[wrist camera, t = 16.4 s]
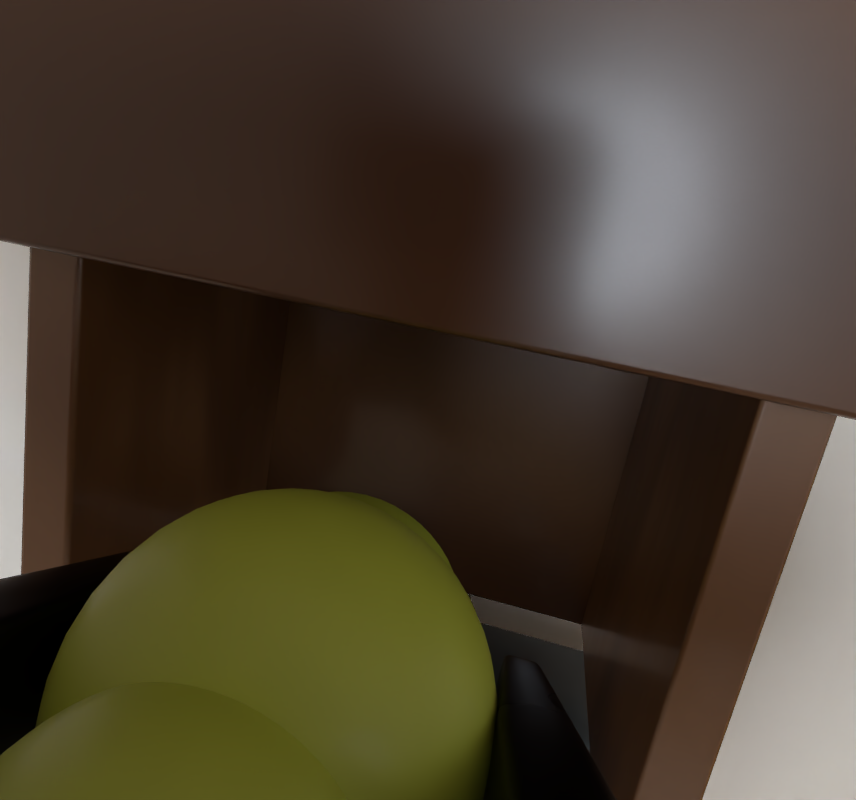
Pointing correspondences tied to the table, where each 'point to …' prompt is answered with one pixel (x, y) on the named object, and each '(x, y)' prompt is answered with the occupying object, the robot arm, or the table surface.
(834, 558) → the table surface
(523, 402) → the drawer
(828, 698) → the table surface
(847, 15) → the cabinet
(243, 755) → the pear
